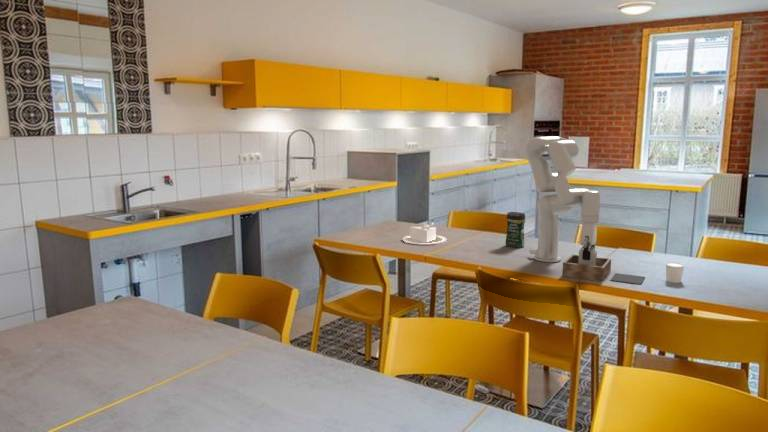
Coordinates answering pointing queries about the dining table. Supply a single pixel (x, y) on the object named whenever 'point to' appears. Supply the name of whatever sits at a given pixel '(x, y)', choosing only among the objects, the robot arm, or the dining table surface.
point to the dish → (423, 235)
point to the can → (592, 257)
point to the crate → (586, 268)
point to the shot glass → (674, 272)
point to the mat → (628, 278)
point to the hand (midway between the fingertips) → (588, 257)
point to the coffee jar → (515, 229)
